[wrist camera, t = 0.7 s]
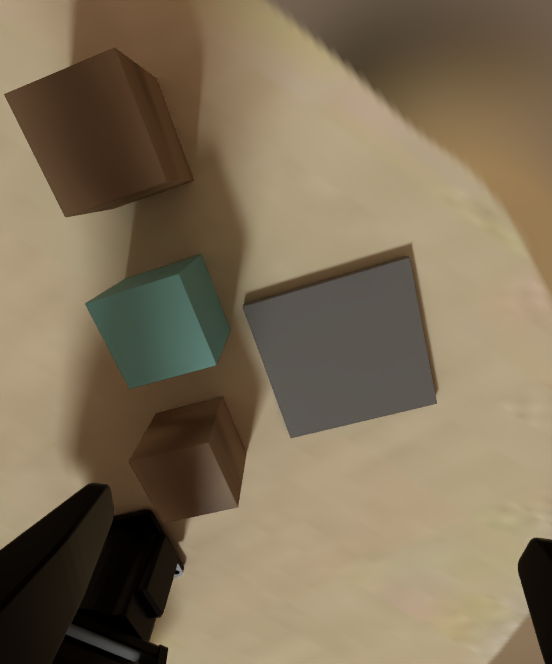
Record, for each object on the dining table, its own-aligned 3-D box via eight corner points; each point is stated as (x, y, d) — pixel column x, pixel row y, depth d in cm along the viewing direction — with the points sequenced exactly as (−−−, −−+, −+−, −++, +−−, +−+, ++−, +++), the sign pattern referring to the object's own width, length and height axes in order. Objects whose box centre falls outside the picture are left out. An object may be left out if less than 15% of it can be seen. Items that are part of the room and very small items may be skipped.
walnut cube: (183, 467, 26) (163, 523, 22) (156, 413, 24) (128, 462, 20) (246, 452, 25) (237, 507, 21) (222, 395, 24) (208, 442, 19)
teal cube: (159, 349, 22) (129, 389, 18) (125, 278, 21) (84, 303, 17) (230, 329, 22) (216, 365, 18) (201, 254, 20) (178, 274, 16)
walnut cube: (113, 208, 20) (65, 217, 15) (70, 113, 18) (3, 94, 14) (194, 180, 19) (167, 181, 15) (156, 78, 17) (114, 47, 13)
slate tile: (290, 433, 24) (290, 438, 24) (243, 303, 21) (242, 306, 21) (434, 399, 23) (437, 403, 22) (406, 255, 20) (409, 257, 19)
